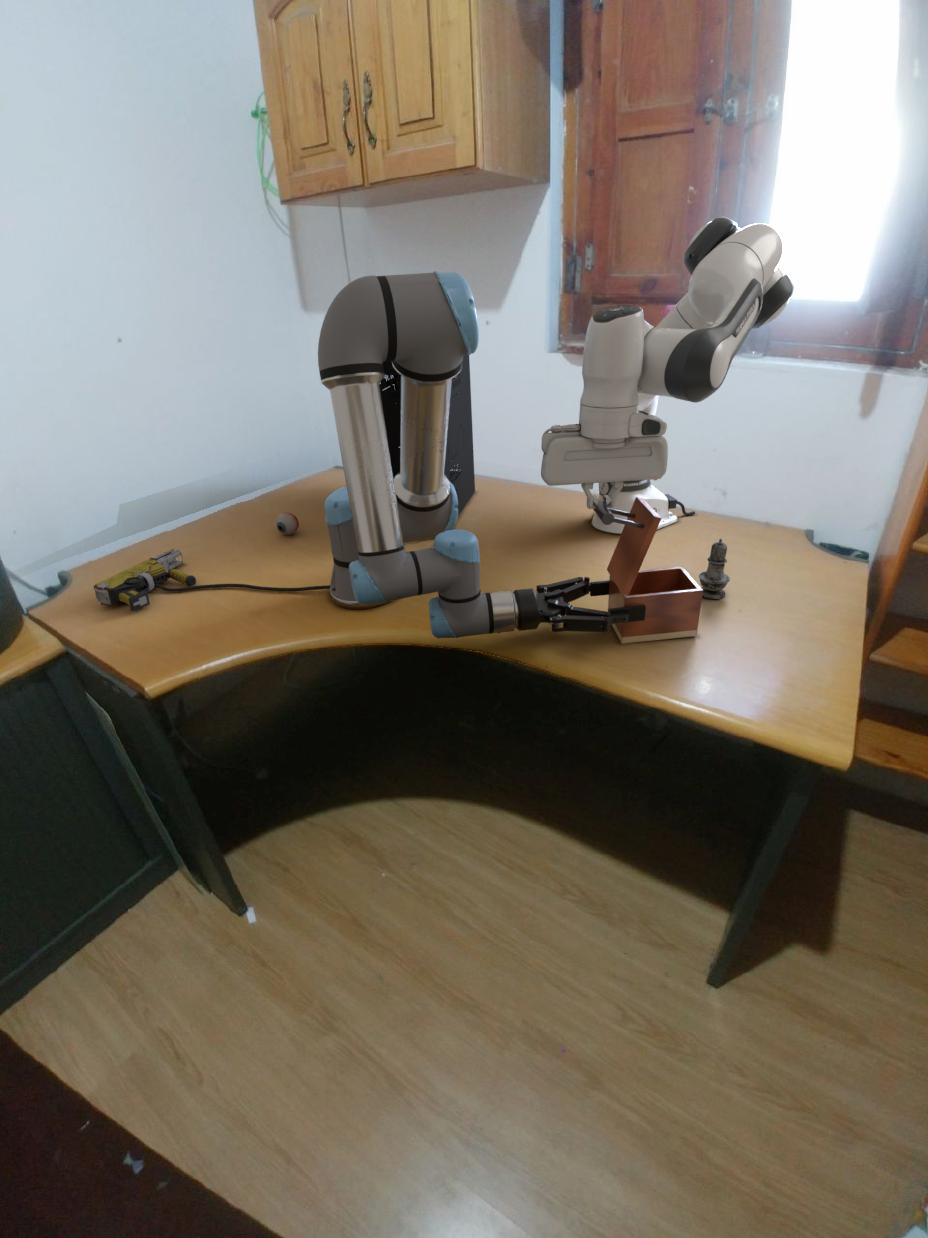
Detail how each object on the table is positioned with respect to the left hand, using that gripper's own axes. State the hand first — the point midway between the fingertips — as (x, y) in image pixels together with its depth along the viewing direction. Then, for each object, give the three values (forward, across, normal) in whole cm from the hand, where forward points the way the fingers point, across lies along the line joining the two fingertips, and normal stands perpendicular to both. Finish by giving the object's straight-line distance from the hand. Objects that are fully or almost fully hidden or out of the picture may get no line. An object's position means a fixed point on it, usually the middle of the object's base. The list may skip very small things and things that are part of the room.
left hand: (633, 598), depth 111 cm
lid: (-1, 0, +11) cm, 11 cm away
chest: (+4, 0, -6) cm, 7 cm away
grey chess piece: (+21, -10, -6) cm, 24 cm away
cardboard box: (-34, -74, -6) cm, 82 cm away
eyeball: (-73, -65, -6) cm, 98 cm away
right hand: (-7, 0, +18) cm, 20 cm away
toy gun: (-98, -38, -6) cm, 105 cm away
